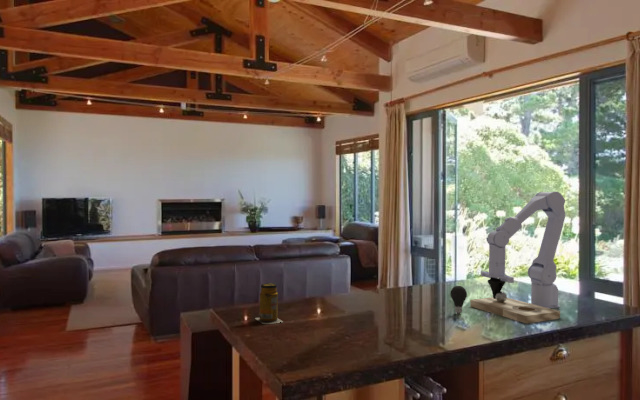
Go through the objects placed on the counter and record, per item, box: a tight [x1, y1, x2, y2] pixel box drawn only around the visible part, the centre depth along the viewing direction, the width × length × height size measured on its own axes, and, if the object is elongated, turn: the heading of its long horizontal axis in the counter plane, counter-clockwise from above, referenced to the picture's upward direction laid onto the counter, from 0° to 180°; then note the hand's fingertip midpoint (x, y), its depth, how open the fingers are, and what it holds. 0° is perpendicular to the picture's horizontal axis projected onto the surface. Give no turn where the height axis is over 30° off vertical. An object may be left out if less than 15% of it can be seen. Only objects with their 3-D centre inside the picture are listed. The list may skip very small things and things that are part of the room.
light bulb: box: [450, 285, 468, 315], centre depth 164 cm, size 6×6×10 cm
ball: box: [495, 290, 508, 302], centre depth 172 cm, size 4×4×4 cm
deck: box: [470, 296, 561, 325], centre depth 167 cm, size 16×26×2 cm, turn 24°
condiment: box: [254, 282, 284, 325], centre depth 153 cm, size 7×8×12 cm
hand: (496, 298), depth 174 cm, fingers closed, pressing on ball
